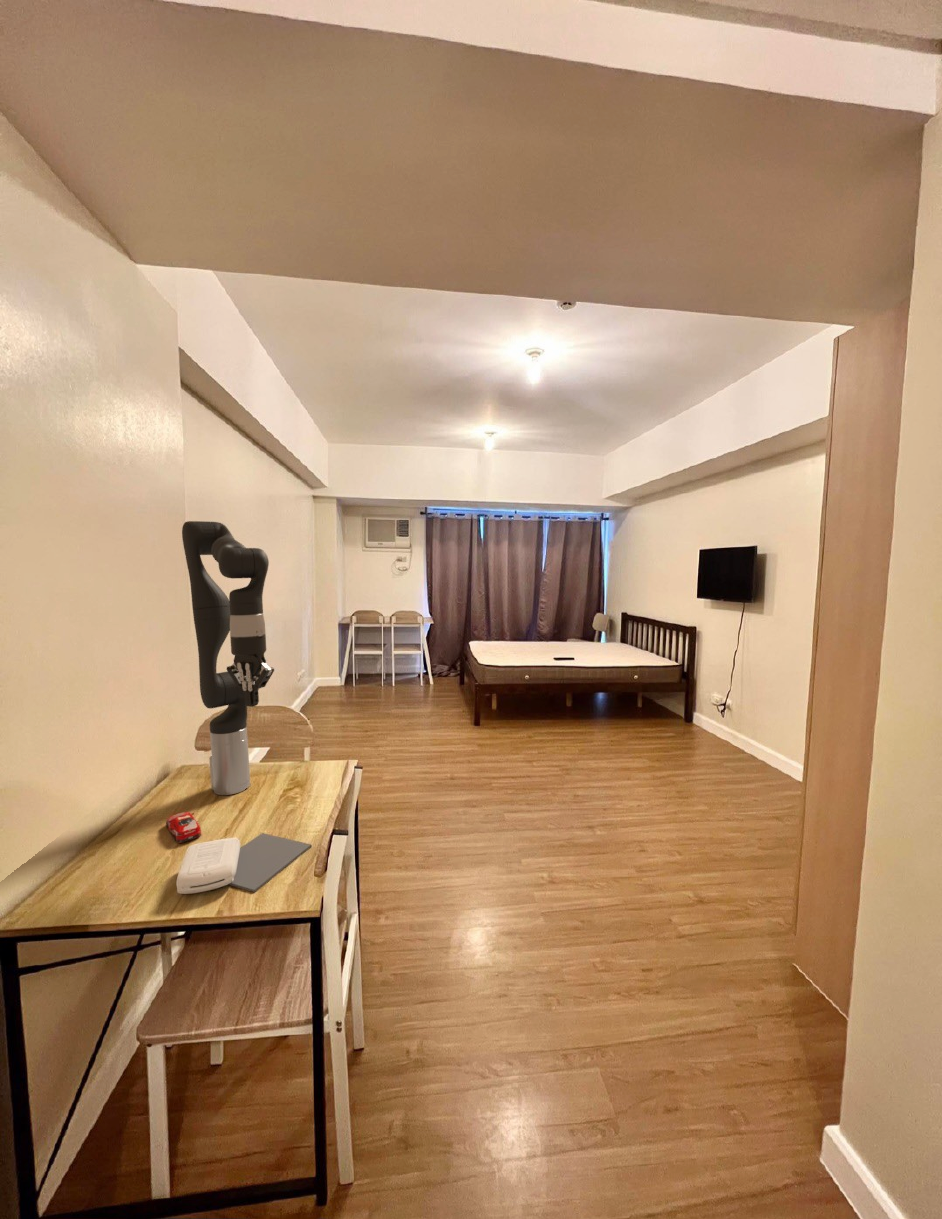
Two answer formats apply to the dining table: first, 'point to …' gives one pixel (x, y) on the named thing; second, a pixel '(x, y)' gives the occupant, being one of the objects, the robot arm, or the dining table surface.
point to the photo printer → (208, 866)
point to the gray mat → (265, 860)
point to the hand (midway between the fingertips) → (252, 705)
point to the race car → (183, 827)
